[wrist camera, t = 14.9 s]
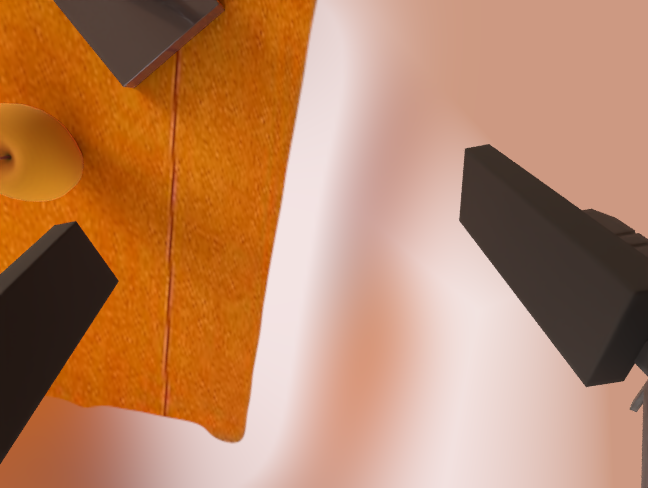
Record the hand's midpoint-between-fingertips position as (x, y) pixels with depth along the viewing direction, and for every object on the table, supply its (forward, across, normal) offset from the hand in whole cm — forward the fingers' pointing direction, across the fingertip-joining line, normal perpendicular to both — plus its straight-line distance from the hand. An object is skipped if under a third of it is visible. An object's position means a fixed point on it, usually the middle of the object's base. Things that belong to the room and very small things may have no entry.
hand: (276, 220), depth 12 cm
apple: (+27, -25, -2) cm, 37 cm away
